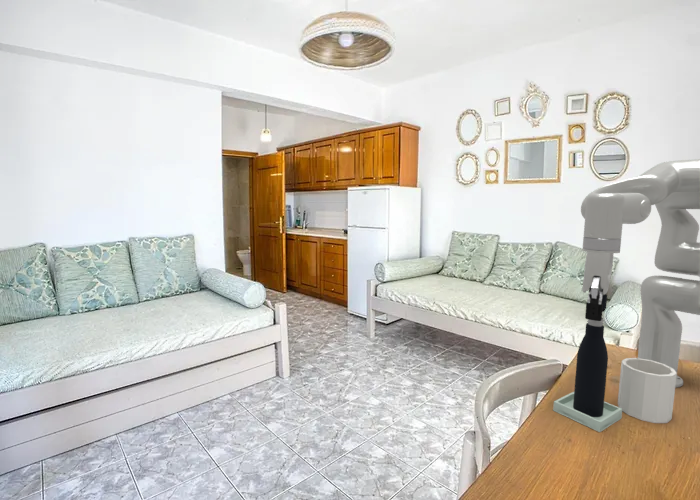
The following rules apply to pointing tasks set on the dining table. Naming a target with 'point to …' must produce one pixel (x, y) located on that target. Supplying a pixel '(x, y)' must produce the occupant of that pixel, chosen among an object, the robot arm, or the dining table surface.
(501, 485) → the dining table surface
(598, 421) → the sage tray
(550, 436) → the dining table surface
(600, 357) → the wine bottle
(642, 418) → the wine cooler
